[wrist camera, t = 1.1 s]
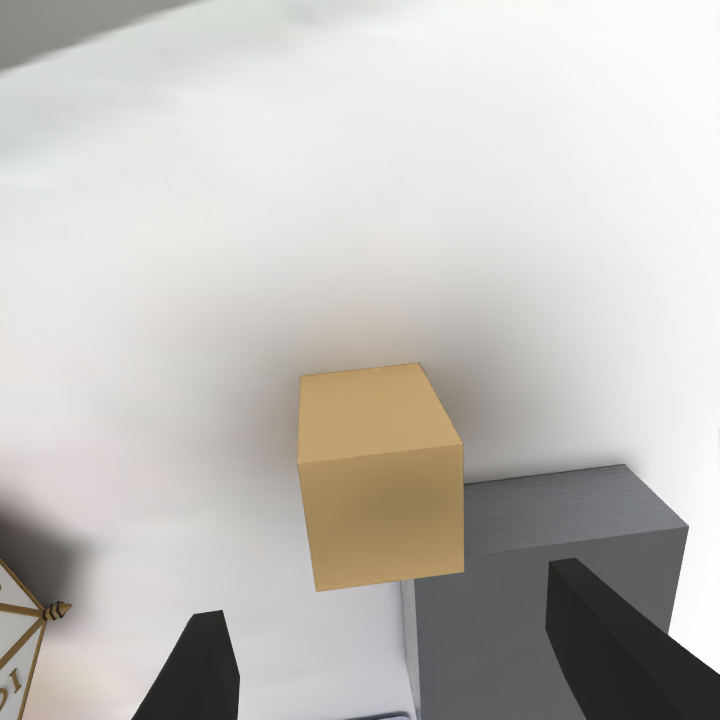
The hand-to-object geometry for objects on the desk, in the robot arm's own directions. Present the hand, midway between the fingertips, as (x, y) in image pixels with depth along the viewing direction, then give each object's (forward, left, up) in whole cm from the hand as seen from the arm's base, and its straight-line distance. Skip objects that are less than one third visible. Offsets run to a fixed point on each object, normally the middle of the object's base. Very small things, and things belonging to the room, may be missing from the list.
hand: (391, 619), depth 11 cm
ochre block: (0, 0, -10) cm, 10 cm away
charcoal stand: (-9, -6, -9) cm, 14 cm away
